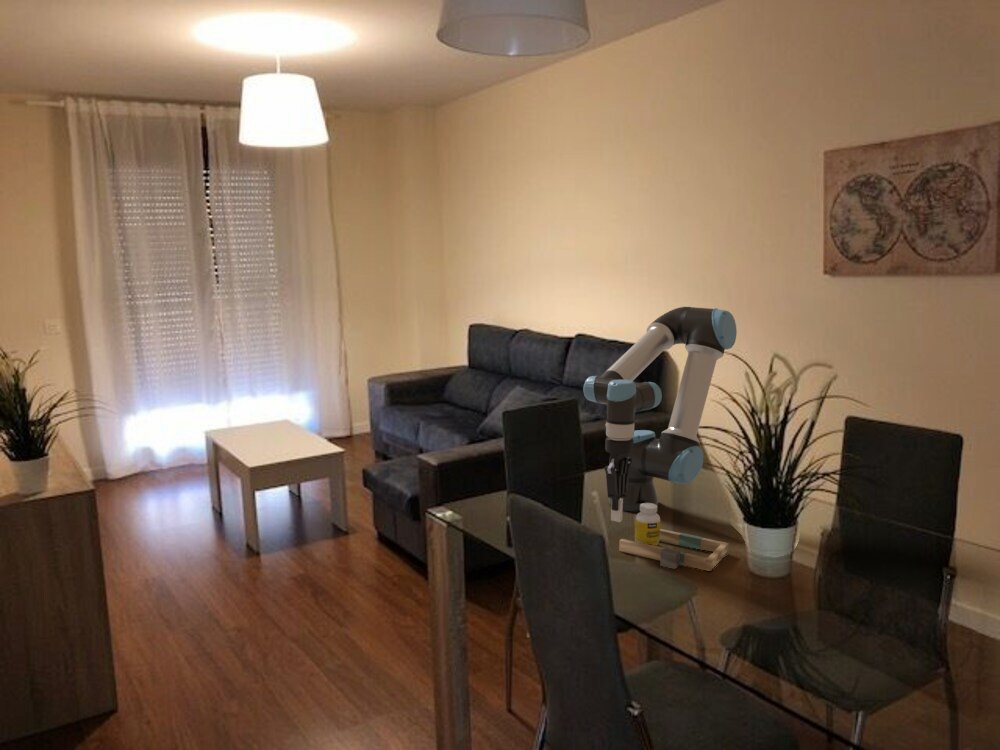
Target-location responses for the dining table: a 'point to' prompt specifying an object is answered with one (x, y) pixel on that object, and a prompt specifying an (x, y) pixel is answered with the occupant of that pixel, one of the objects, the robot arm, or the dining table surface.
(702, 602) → the dining table surface
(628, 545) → the beam track
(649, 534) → the pill bottle
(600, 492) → the dining table surface
